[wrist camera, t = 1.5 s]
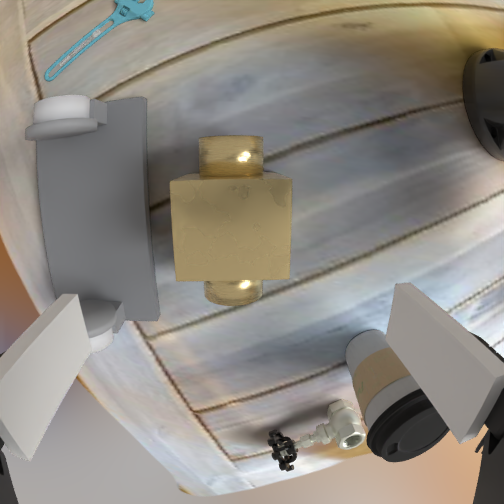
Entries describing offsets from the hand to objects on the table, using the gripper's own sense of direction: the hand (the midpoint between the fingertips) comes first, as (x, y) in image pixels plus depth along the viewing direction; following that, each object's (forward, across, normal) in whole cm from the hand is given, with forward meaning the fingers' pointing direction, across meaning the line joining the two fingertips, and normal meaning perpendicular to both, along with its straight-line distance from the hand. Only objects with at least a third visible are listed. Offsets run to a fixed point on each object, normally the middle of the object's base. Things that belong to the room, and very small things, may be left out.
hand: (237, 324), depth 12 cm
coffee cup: (+19, +16, -16) cm, 29 cm away
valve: (+19, +10, -28) cm, 35 cm away
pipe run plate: (+19, -14, +1) cm, 24 cm away
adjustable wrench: (+19, -14, +20) cm, 32 cm away
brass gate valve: (+19, 0, +1) cm, 19 cm away
